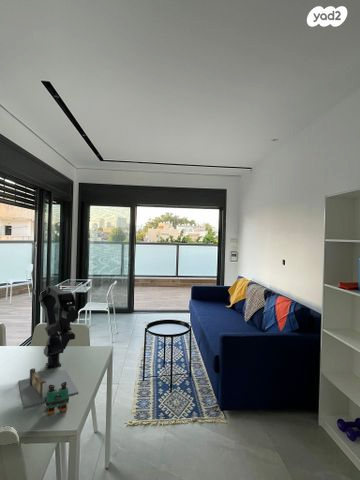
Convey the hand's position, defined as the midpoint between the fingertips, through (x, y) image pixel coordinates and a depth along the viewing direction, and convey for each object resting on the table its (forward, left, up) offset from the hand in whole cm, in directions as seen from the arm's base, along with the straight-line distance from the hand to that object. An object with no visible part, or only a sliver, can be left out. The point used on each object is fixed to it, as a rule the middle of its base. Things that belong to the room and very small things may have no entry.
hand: (63, 349), depth 142 cm
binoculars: (+26, -8, -13) cm, 30 cm away
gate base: (+8, -8, -13) cm, 17 cm away
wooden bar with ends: (+10, -13, -12) cm, 20 cm away
